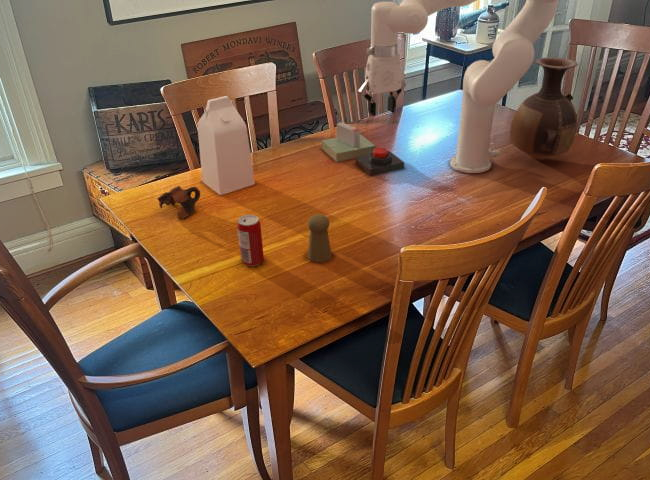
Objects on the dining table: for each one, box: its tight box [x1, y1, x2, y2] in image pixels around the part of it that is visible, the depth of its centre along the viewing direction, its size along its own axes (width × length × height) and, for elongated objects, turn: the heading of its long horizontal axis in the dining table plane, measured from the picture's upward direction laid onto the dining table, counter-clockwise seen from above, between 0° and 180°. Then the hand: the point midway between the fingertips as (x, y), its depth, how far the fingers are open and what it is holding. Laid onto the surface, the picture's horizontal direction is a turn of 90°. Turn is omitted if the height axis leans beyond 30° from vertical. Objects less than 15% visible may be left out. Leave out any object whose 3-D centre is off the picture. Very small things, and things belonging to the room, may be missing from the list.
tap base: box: [321, 133, 376, 163], centre depth 205 cm, size 14×13×3 cm
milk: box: [197, 95, 256, 196], centre depth 181 cm, size 12×12×26 cm
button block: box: [355, 150, 405, 177], centre depth 195 cm, size 12×10×4 cm
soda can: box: [236, 214, 265, 267], centre depth 150 cm, size 6×6×12 cm
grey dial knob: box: [336, 121, 361, 148], centre depth 202 cm, size 9×2×6 cm, turn 38°
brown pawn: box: [307, 213, 332, 263], centre depth 151 cm, size 6×6×11 cm
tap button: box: [373, 147, 388, 158], centre depth 193 cm, size 4×4×2 cm
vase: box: [509, 56, 579, 160], centre depth 189 cm, size 23×19×30 cm
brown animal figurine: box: [157, 185, 201, 220], centre depth 175 cm, size 12×10×8 cm
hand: (381, 112), depth 185 cm, fingers open, 5 cm apart
